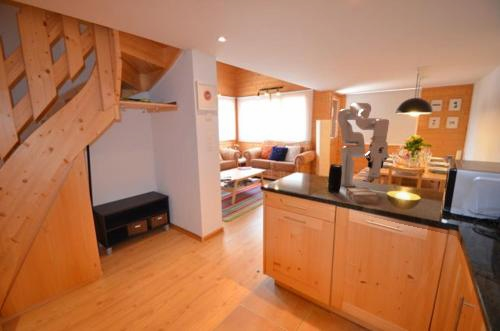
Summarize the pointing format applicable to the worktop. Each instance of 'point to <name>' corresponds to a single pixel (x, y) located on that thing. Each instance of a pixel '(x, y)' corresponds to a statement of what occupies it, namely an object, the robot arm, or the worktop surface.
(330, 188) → the portable speaker
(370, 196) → the wood stand
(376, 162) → the travel mug
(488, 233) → the worktop surface
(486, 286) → the worktop surface
